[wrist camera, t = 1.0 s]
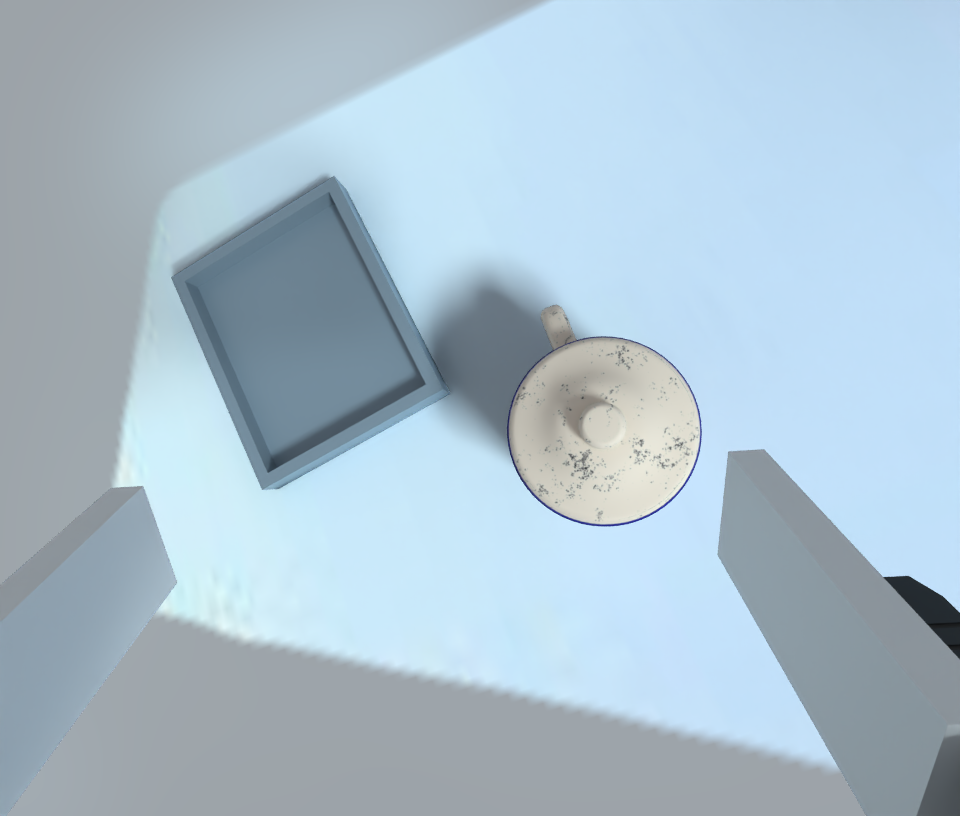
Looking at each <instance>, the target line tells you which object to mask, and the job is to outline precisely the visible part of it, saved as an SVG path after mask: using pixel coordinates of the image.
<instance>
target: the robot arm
mask: <svg viewBox="0 0 960 816" xmlns="http://www.w3.org/2000/svg"><path fill="white" fill-rule="evenodd" d="M718 557H719V558H720V560H721V562H722V564H723V565H724V567H725V569H726V571H727V572H728V574H729V576H730V578H731V579H732V581H733V583H734V585H735V586H736V588H737V590H738V592H739V593H740V595H741V597H742V599H743V600H744V602H745V604H746V606H747V608H748V609H749V611H750V613H751V615H752V616H753V618H754V620H755V622H756V623H757V625H758V627H759V629H760V630H761V632H762V634H763V636H764V637H765V639H766V641H767V643H768V644H769V646H770V648H771V650H772V651H773V653H774V655H775V657H776V658H777V660H778V662H779V664H780V665H781V667H782V669H783V671H784V672H785V674H786V676H787V678H788V680H789V681H790V683H791V685H792V687H793V688H794V690H795V692H796V694H797V695H798V697H799V699H800V701H801V702H802V704H803V706H804V708H805V709H806V711H807V713H808V715H809V716H810V718H811V720H812V722H813V723H814V725H815V727H816V729H817V730H818V732H819V734H820V736H821V737H822V739H823V741H824V743H825V745H826V746H827V748H828V750H829V752H830V753H831V755H832V757H833V759H834V760H835V762H836V764H837V766H838V767H839V769H840V771H841V772H842V774H843V776H844V778H845V780H846V781H847V783H848V785H849V787H850V788H851V790H852V792H853V794H854V795H855V797H856V799H857V801H858V802H859V804H860V806H861V808H862V809H863V811H864V813H865V815H866V816H960V613H959V612H958V611H957V610H956V609H955V608H954V607H953V606H952V605H951V604H950V603H949V602H948V601H947V600H946V599H945V598H944V597H943V596H941V595H939V594H938V593H936V592H934V591H933V590H931V589H929V588H928V587H926V586H924V585H923V584H921V583H919V582H918V581H916V580H914V579H913V578H911V577H909V576H897V577H882V575H881V574H880V573H879V572H878V571H877V570H876V569H875V568H874V567H873V566H872V565H871V564H870V563H869V562H868V560H867V559H866V558H865V557H864V556H863V555H862V554H861V553H860V552H859V551H858V550H857V549H856V548H855V546H854V545H853V544H852V543H851V542H850V541H849V540H848V539H847V538H846V537H845V536H844V535H843V534H842V533H841V531H840V530H839V529H838V528H837V527H836V526H835V525H834V524H833V523H832V522H831V521H830V520H829V519H828V518H827V516H826V515H825V514H824V513H823V512H822V511H821V510H820V509H819V508H818V507H817V506H816V505H815V504H814V502H813V501H812V500H811V499H810V498H809V497H808V496H807V495H806V494H805V493H804V492H803V491H802V490H801V489H800V487H799V486H798V485H797V484H796V483H795V482H794V481H793V480H792V479H791V478H790V477H789V476H788V475H787V474H786V472H785V471H784V470H783V469H782V468H781V467H780V466H779V465H778V464H777V463H776V462H775V461H774V460H773V458H772V457H771V456H770V455H769V454H768V453H767V452H766V451H765V450H747V451H730V452H728V459H727V469H726V478H725V488H724V497H723V507H722V517H721V526H720V536H719V545H718ZM176 584H177V580H176V578H175V575H174V572H173V569H172V566H171V563H170V561H169V558H168V555H167V552H166V549H165V546H164V544H163V541H162V538H161V535H160V532H159V529H158V527H157V524H156V521H155V518H154V515H153V512H152V510H151V507H150V504H149V501H148V498H147V495H146V493H145V490H144V487H143V486H137V487H120V488H110V489H109V490H108V491H107V492H106V493H105V494H103V495H102V496H101V497H100V498H99V499H98V500H96V502H94V503H93V504H92V505H91V506H90V507H89V508H87V509H86V510H85V511H84V512H83V513H82V514H81V515H79V516H78V517H77V518H76V519H75V520H74V521H73V522H71V523H70V524H69V525H68V526H67V527H66V528H65V529H63V530H62V531H61V532H60V533H59V534H58V535H57V536H55V537H54V538H53V539H52V540H51V541H50V542H49V543H47V544H46V545H45V546H44V547H43V548H42V549H41V550H39V552H37V553H36V554H35V555H34V556H33V557H31V559H29V560H28V561H27V562H26V563H25V564H24V565H22V566H21V567H20V568H19V569H18V570H17V571H16V572H14V574H12V575H11V576H10V577H9V578H8V579H6V580H5V581H4V582H3V583H2V584H1V585H0V816H7V814H8V813H9V812H10V810H11V809H12V807H13V806H14V805H15V803H16V802H17V801H18V799H19V798H20V797H21V795H22V794H23V792H24V791H25V789H26V788H27V787H28V785H29V784H30V783H31V781H32V780H33V779H34V777H35V776H36V775H37V773H38V772H39V771H40V769H41V768H42V767H43V765H44V764H45V762H46V761H47V760H48V758H49V757H50V755H51V754H52V753H53V751H54V750H55V749H56V747H57V746H58V745H59V743H60V742H61V741H62V739H63V738H64V736H65V735H66V734H67V732H68V731H69V730H70V728H71V727H72V725H73V724H74V723H75V721H76V720H77V719H78V717H79V716H80V715H81V713H82V712H83V711H84V709H85V708H86V706H87V705H88V704H89V702H90V701H91V700H92V698H93V697H94V696H95V694H96V693H97V691H98V690H99V689H100V687H101V686H102V684H103V683H104V682H105V681H106V679H107V678H108V676H109V675H110V674H111V672H112V671H113V669H114V668H115V667H116V665H117V664H118V663H119V661H120V660H121V659H122V657H123V656H124V655H125V653H126V652H127V650H128V649H129V648H130V646H131V645H132V644H133V642H134V641H135V639H136V638H137V637H138V635H139V634H140V633H141V631H142V630H143V629H144V627H145V626H146V624H147V623H148V622H149V620H150V619H151V618H152V616H153V615H154V614H155V612H156V611H157V610H158V608H159V607H160V605H161V604H162V603H163V601H164V600H165V599H166V597H167V596H168V594H169V593H170V592H171V590H172V589H173V588H174V586H175V585H176Z"/></svg>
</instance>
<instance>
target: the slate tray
mask: <svg viewBox="0 0 960 816" xmlns="http://www.w3.org/2000/svg"><path fill="white" fill-rule="evenodd" d="M171 278H172V280H173V283H174V285H175V287H176V290H177V292H178V294H179V297H180V299H181V301H182V304H183V306H184V308H185V311H186V313H187V315H188V318H189V320H190V322H191V325H192V327H193V329H194V332H195V334H196V336H197V339H198V341H199V343H200V346H201V348H202V350H203V353H204V355H205V357H206V360H207V362H208V364H209V367H210V369H211V371H212V374H213V376H214V378H215V381H216V383H217V385H218V388H219V390H220V392H221V395H222V397H223V399H224V402H225V404H226V406H227V409H228V411H229V413H230V416H231V418H232V421H233V423H234V425H235V428H236V430H237V432H238V435H239V437H240V439H241V442H242V444H243V446H244V449H245V451H246V453H247V456H248V458H249V460H250V463H251V465H252V467H253V470H254V472H255V474H256V477H257V479H258V481H259V484H260V486H261V488H262V490H267V489H279V488H281V487H283V486H284V485H286V484H288V483H290V482H292V481H293V480H295V479H297V478H299V477H301V476H302V475H304V474H306V473H308V472H310V471H312V470H313V469H315V468H317V467H319V466H321V465H322V464H324V463H326V462H328V461H330V460H331V459H333V458H335V457H337V456H339V455H340V454H342V453H344V452H346V451H348V450H349V449H351V448H353V447H355V446H357V445H358V444H360V443H362V442H364V441H366V440H367V439H369V438H371V437H373V436H375V435H376V434H378V433H380V432H382V431H384V430H385V429H387V428H389V427H391V426H393V425H394V424H396V423H398V422H400V421H402V420H403V419H405V418H407V417H409V416H411V415H413V414H414V413H416V412H418V411H420V410H422V409H423V408H425V407H427V406H429V405H431V404H432V403H434V402H436V401H438V400H440V399H441V398H443V397H445V396H447V395H449V394H450V392H449V390H448V388H447V386H446V384H445V382H444V380H443V378H442V376H441V374H440V372H439V370H438V368H437V366H436V364H435V362H434V360H433V358H432V356H431V354H430V353H429V351H428V349H427V347H426V345H425V343H424V341H423V339H422V337H421V335H420V333H419V331H418V329H417V327H416V325H415V323H414V321H413V319H412V317H411V315H410V313H409V311H408V309H407V307H406V306H405V304H404V302H403V300H402V298H401V296H400V294H399V292H398V290H397V288H396V286H395V284H394V282H393V280H392V278H391V276H390V274H389V272H388V270H387V268H386V266H385V264H384V262H383V260H382V259H381V257H380V255H379V253H378V251H377V249H376V247H375V245H374V243H373V241H372V239H371V237H370V235H369V233H368V231H367V229H366V227H365V225H364V223H363V221H362V219H361V217H360V215H359V214H358V212H357V210H356V208H355V206H354V204H353V202H352V200H351V198H350V196H349V194H348V192H347V190H346V189H345V188H344V187H343V185H342V184H341V183H340V182H339V181H338V180H337V179H336V177H335V176H333V177H332V178H330V179H328V180H327V181H325V182H324V183H322V184H320V185H319V186H317V187H316V188H314V189H312V190H311V191H309V192H308V193H306V194H304V195H303V196H301V197H300V198H298V199H296V200H295V201H293V202H291V203H290V204H288V205H287V206H285V207H283V208H282V209H280V210H279V211H277V212H275V213H274V214H272V215H271V216H269V217H267V218H266V219H264V220H263V221H261V222H259V223H258V224H256V225H255V226H253V227H251V228H250V229H248V230H247V231H245V232H243V233H242V234H240V235H239V236H237V237H235V238H234V239H232V240H230V241H229V242H227V243H226V244H224V245H222V246H221V247H219V248H218V249H216V250H214V251H213V252H211V253H210V254H208V255H206V256H205V257H203V258H202V259H200V260H198V261H197V262H195V263H194V264H192V265H190V266H189V267H187V268H186V269H184V270H182V271H181V272H179V273H178V274H176V275H174V276H173V277H171Z"/></svg>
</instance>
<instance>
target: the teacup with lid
mask: <svg viewBox="0 0 960 816" xmlns="http://www.w3.org/2000/svg"><path fill="white" fill-rule="evenodd" d="M541 320H542V323H543V325H544V328H545V330H546V333H547V336H548V338H549V341H550V343H551V346H552V348H553V351H551V352H550V353H548V354H547V355H546V356H544V357H543V358H542V359H540V360H539V361H538V362H537V363H536V364H535V365H534V366H533V367H532V368H531V369H530V370H529V372H528V373H527V374H526V375H525V377H524V378H523V380H522V381H521V383H520V385H519V386H518V388H517V390H516V392H515V395H514V397H513V400H512V403H511V407H510V410H509V416H508V425H507V438H508V446H509V451H510V455H511V458H512V461H513V464H514V467H515V469H516V471H517V473H518V475H519V477H520V479H521V480H522V482H523V483H524V485H525V486H526V488H527V489H528V490H529V491H530V492H531V494H532V495H533V496H534V497H535V498H536V499H537V500H538V501H539V502H541V503H542V504H543V505H544V506H546V507H547V508H548V509H550V510H551V511H553V512H554V513H556V514H558V515H560V516H562V517H564V518H566V519H569V520H571V521H574V522H578V523H581V524H586V525H591V526H619V525H625V524H629V523H633V522H636V521H639V520H642V519H644V518H646V517H649V516H650V515H652V514H654V513H656V512H657V511H659V510H660V509H662V508H663V507H665V506H666V505H667V504H668V503H669V502H671V501H672V500H673V499H674V498H675V497H676V496H677V495H678V494H679V492H680V491H681V490H682V489H683V487H684V486H685V484H686V483H687V481H688V480H689V478H690V476H691V474H692V472H693V470H694V468H695V465H696V462H697V460H698V456H699V452H700V446H701V435H702V429H701V419H700V413H699V409H698V405H697V402H696V399H695V397H694V394H693V392H692V390H691V388H690V386H689V385H688V383H687V382H686V380H685V378H684V377H683V376H682V374H681V373H680V372H679V371H678V370H677V369H676V367H675V366H674V365H673V364H672V363H671V362H669V361H668V360H667V359H666V358H665V357H663V356H662V355H660V354H659V353H658V352H656V351H654V350H653V349H651V348H649V347H647V346H645V345H642V344H640V343H637V342H634V341H631V340H627V339H623V338H617V337H590V338H584V339H580V340H576V338H575V335H574V333H573V330H572V328H571V326H570V323H569V321H568V319H567V317H566V315H565V313H564V311H563V309H562V308H561V307H560V306H558V305H552V306H550V307H548V308H545V309H544V310H543V311H542V312H541Z"/></svg>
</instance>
